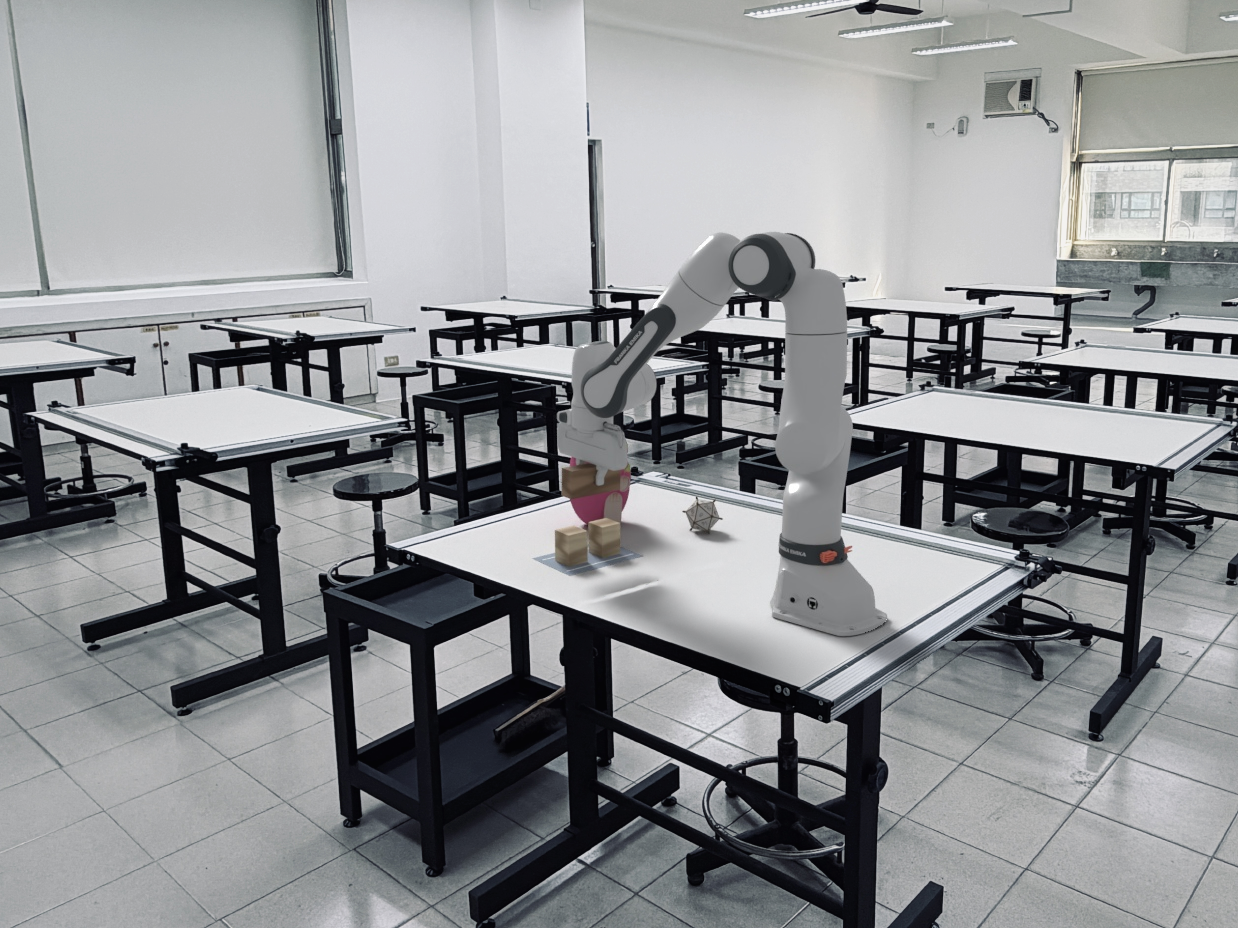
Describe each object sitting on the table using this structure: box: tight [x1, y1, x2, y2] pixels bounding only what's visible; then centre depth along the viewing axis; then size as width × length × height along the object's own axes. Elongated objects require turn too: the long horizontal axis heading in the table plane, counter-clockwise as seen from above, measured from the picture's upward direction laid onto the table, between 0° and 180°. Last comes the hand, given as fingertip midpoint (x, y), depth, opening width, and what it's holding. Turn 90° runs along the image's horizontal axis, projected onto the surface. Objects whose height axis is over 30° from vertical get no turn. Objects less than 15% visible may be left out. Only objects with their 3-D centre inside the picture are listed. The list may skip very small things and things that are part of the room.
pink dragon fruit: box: [569, 441, 632, 526], centre depth 244 cm, size 18×14×30 cm
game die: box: [681, 495, 724, 535], centre depth 243 cm, size 9×8×10 cm
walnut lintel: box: [561, 463, 621, 500], centre depth 218 cm, size 4×13×6 cm, turn 129°
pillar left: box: [554, 525, 589, 567], centre depth 220 cm, size 5×5×7 cm
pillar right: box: [587, 518, 621, 558], centre depth 225 cm, size 5×5×7 cm
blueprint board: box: [531, 543, 644, 577], centre depth 224 cm, size 14×20×1 cm
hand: (591, 482), depth 218 cm, fingers closed on walnut lintel, 3 cm apart
